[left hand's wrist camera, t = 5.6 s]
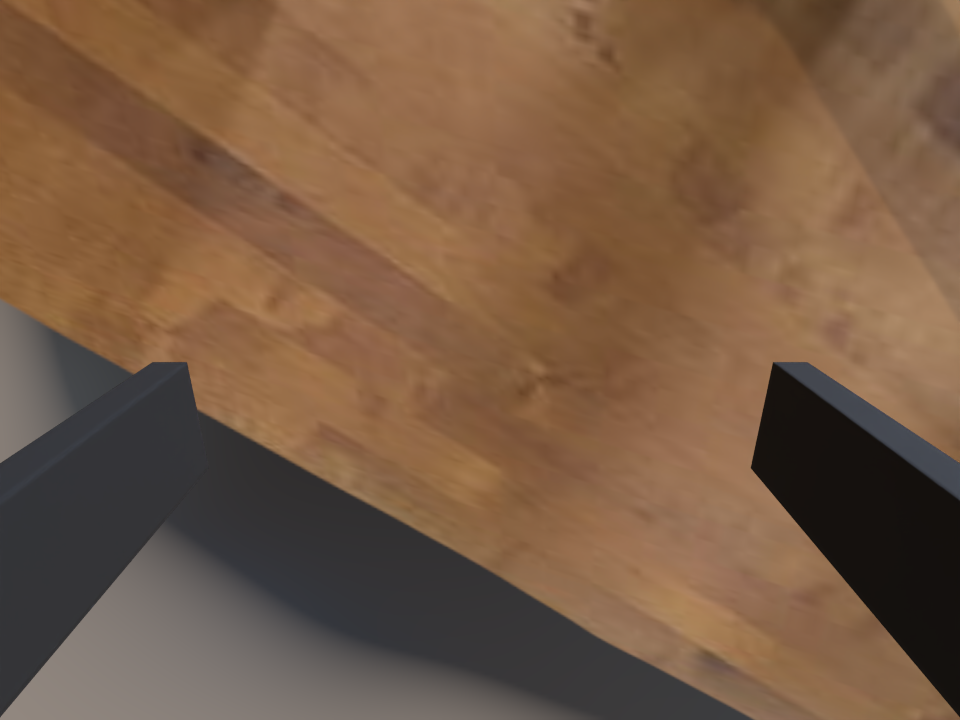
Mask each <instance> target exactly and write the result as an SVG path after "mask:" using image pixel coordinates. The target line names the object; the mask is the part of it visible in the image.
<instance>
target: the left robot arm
mask: <svg viewBox="0 0 960 720" xmlns="http://www.w3.org/2000/svg"><path fill="white" fill-rule="evenodd" d="M208 469H209V465H208V460H207V455H206V451H205V446H204V441H203V436H202V432H201V427H200V423H199V418H198V413H197V408H196V403H195V398H194V394H193V389H192V384H191V380H190V375H189V370H188V365H187V362H152V363H151V364H149V365H148V366H146V367H145V368H143V369H142V370H140V371H139V372H137V373H136V374H134V375H133V376H131V377H130V378H128V379H127V380H125V381H124V382H122V383H121V384H119V385H118V386H116V387H115V388H113V389H112V390H110V391H109V392H107V393H106V394H104V395H103V396H101V397H100V398H98V399H97V400H95V401H94V402H92V403H91V404H89V405H88V406H86V407H85V408H83V409H81V410H80V411H78V412H77V413H75V414H74V415H73V416H71V417H70V418H68V419H66V420H65V421H64V422H62V423H60V424H59V425H57V426H56V427H54V428H53V429H51V430H50V431H48V432H47V433H45V434H44V435H42V436H41V437H39V438H38V439H36V440H35V441H33V442H32V443H30V444H29V445H27V446H26V447H24V448H23V449H21V450H20V451H18V452H17V453H15V454H14V455H12V456H11V457H9V458H8V459H6V460H5V461H3V462H2V463H0V717H1V716H2V714H3V713H4V712H5V711H6V710H7V708H8V707H9V706H10V705H11V704H12V702H13V701H14V700H15V699H16V698H17V697H18V695H19V694H20V693H21V692H22V691H23V689H24V688H25V687H26V686H27V685H28V683H29V682H30V681H31V680H32V679H33V677H34V676H35V675H36V674H37V673H38V671H39V670H40V669H41V668H42V667H43V666H44V664H45V663H46V662H47V661H48V660H49V658H50V657H51V656H52V655H53V653H54V652H55V651H56V650H57V649H58V648H59V646H60V645H61V644H62V643H63V642H64V640H65V639H66V638H67V637H68V636H69V634H70V633H71V632H72V631H73V630H74V629H75V627H76V626H77V625H78V624H79V623H80V621H81V620H82V619H83V618H84V617H85V615H86V614H87V613H88V612H89V611H90V609H91V608H92V607H93V606H94V605H95V604H96V602H97V601H98V600H99V599H100V598H101V596H102V595H103V594H104V593H105V592H106V590H107V589H108V588H109V587H110V586H111V584H112V583H113V582H114V581H115V580H116V578H117V577H118V576H119V575H120V574H121V573H122V571H123V570H124V569H125V568H126V567H127V565H128V564H129V563H130V562H131V561H132V559H133V558H134V557H135V556H136V555H137V553H138V552H139V551H140V550H141V549H142V547H143V546H144V545H145V544H146V543H147V541H148V540H149V539H150V538H151V537H152V536H153V534H154V533H155V532H156V531H157V530H158V528H159V527H160V526H161V525H162V524H163V522H164V521H165V520H166V519H167V518H168V516H169V515H170V514H171V513H172V512H173V511H174V509H175V508H176V507H177V506H178V505H179V503H180V502H181V501H182V500H183V499H184V497H185V496H186V495H187V494H188V493H189V491H190V490H191V489H192V488H193V487H194V485H195V484H196V483H197V482H198V481H199V480H200V478H201V477H202V476H203V475H204V474H205V472H206V471H207V470H208ZM751 469H752V470H753V471H754V472H755V474H756V475H757V476H758V477H759V478H760V480H761V481H762V482H763V483H764V484H765V486H766V487H767V488H768V489H769V490H770V491H771V493H772V494H773V495H774V496H775V497H776V499H777V500H778V501H779V502H780V503H781V505H782V506H783V507H784V508H785V509H786V511H787V512H788V513H789V514H790V515H791V517H792V518H793V519H794V520H795V521H796V522H797V524H798V525H799V526H800V527H801V528H802V530H803V531H804V532H805V533H806V534H807V536H808V537H809V538H810V539H811V540H812V542H813V543H814V544H815V545H816V546H817V548H818V549H819V550H820V551H821V552H822V553H823V555H824V556H825V557H826V558H827V559H828V561H829V562H830V563H831V564H832V565H833V567H834V568H835V569H836V570H837V571H838V573H839V574H840V575H841V576H842V577H843V578H844V580H845V581H846V582H847V583H848V584H849V586H850V587H851V588H852V589H853V590H854V592H855V593H856V594H857V595H858V596H859V598H860V599H861V600H862V601H863V602H864V604H865V605H866V606H867V607H868V608H869V609H870V611H871V612H872V613H873V614H874V615H875V617H876V618H877V619H878V620H879V621H880V623H881V624H882V625H883V626H884V627H885V629H886V630H887V631H888V632H889V633H890V635H891V636H892V637H893V638H894V639H895V640H896V642H897V643H898V644H899V645H900V646H901V648H902V649H903V650H904V651H905V652H906V654H907V655H908V656H909V657H910V658H911V660H912V661H913V662H914V663H915V664H916V666H917V667H918V668H919V669H920V670H921V671H922V673H923V674H924V675H925V676H926V677H927V679H928V680H929V681H930V682H931V683H932V685H933V686H934V687H935V688H936V689H937V691H938V692H939V693H940V694H941V695H942V697H943V698H944V699H945V700H946V701H947V702H948V704H949V705H950V706H951V707H952V708H953V710H954V711H955V712H956V713H957V714H958V716H959V717H960V463H958V462H957V461H955V460H954V459H952V458H951V457H949V456H948V455H946V454H945V453H943V452H942V451H940V450H939V449H937V448H936V447H934V446H933V445H931V444H930V443H928V442H927V441H925V440H924V439H922V438H921V437H919V436H918V435H916V434H915V433H913V432H912V431H910V430H909V429H907V428H906V427H904V426H903V425H901V424H900V423H898V422H897V421H895V420H894V419H892V418H891V417H889V416H888V415H886V414H885V413H883V412H882V411H880V410H879V409H877V408H875V407H874V406H872V405H871V404H869V403H868V402H866V401H865V400H863V399H862V398H860V397H859V396H857V395H856V394H854V393H853V392H851V391H850V390H848V389H847V388H845V387H844V386H842V385H841V384H839V383H838V382H836V381H835V380H833V379H832V378H830V377H829V376H827V375H826V374H824V373H823V372H821V371H820V370H818V369H817V368H815V367H814V366H812V365H811V364H809V363H808V362H773V365H772V370H771V375H770V380H769V384H768V389H767V394H766V398H765V403H764V408H763V413H762V417H761V422H760V427H759V432H758V436H757V441H756V446H755V451H754V455H753V460H752V465H751Z"/></svg>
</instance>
